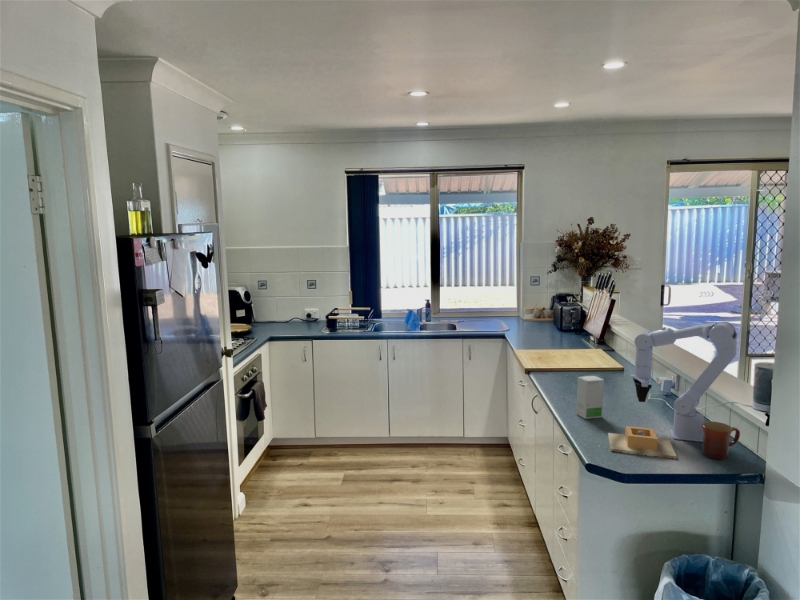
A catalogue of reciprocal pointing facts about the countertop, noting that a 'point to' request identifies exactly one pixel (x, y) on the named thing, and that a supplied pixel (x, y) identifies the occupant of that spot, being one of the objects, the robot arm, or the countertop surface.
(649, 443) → the wooden open tray
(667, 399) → the countertop surface
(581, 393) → the skincare box
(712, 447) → the mug
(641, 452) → the plate
